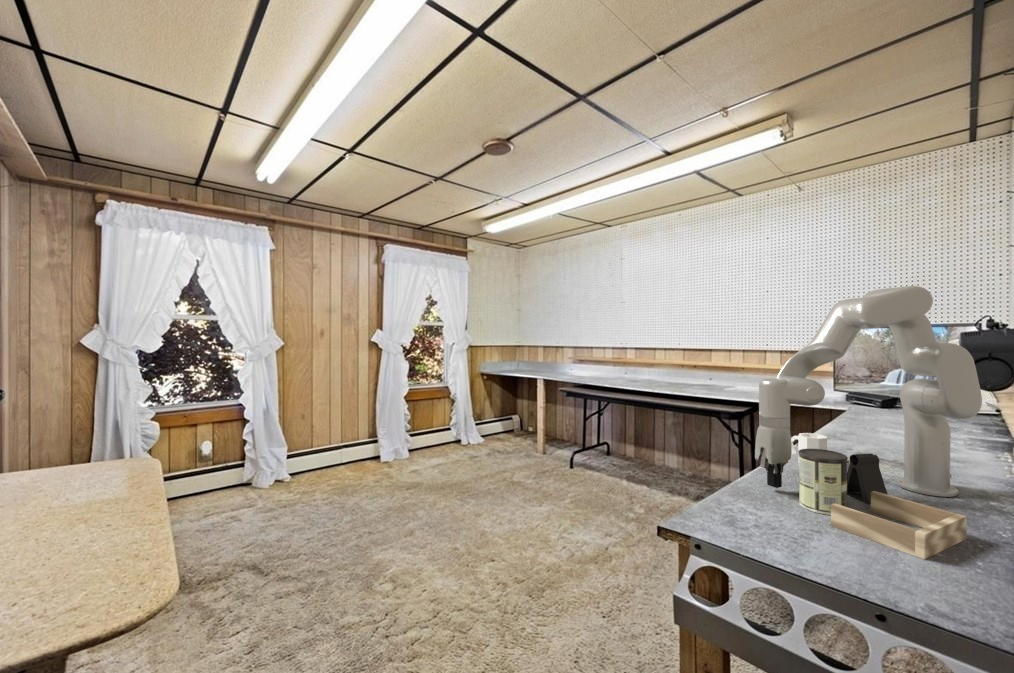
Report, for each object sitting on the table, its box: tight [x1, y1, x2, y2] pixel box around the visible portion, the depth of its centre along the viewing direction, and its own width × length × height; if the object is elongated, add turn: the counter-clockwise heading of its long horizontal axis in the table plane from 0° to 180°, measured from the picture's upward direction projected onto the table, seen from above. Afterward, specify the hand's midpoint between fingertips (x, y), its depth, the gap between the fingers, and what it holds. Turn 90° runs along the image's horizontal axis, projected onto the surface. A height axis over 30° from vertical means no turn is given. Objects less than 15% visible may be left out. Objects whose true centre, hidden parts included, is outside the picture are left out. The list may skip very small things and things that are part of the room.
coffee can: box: [797, 449, 848, 516], centre depth 113 cm, size 10×10×14 cm
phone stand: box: [847, 453, 889, 506], centre depth 119 cm, size 9×6×12 cm, turn 5°
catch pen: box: [830, 491, 968, 560], centre depth 99 cm, size 19×17×5 cm
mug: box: [791, 432, 828, 465], centre depth 150 cm, size 12×9×10 cm
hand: (774, 486), depth 124 cm, fingers closed
